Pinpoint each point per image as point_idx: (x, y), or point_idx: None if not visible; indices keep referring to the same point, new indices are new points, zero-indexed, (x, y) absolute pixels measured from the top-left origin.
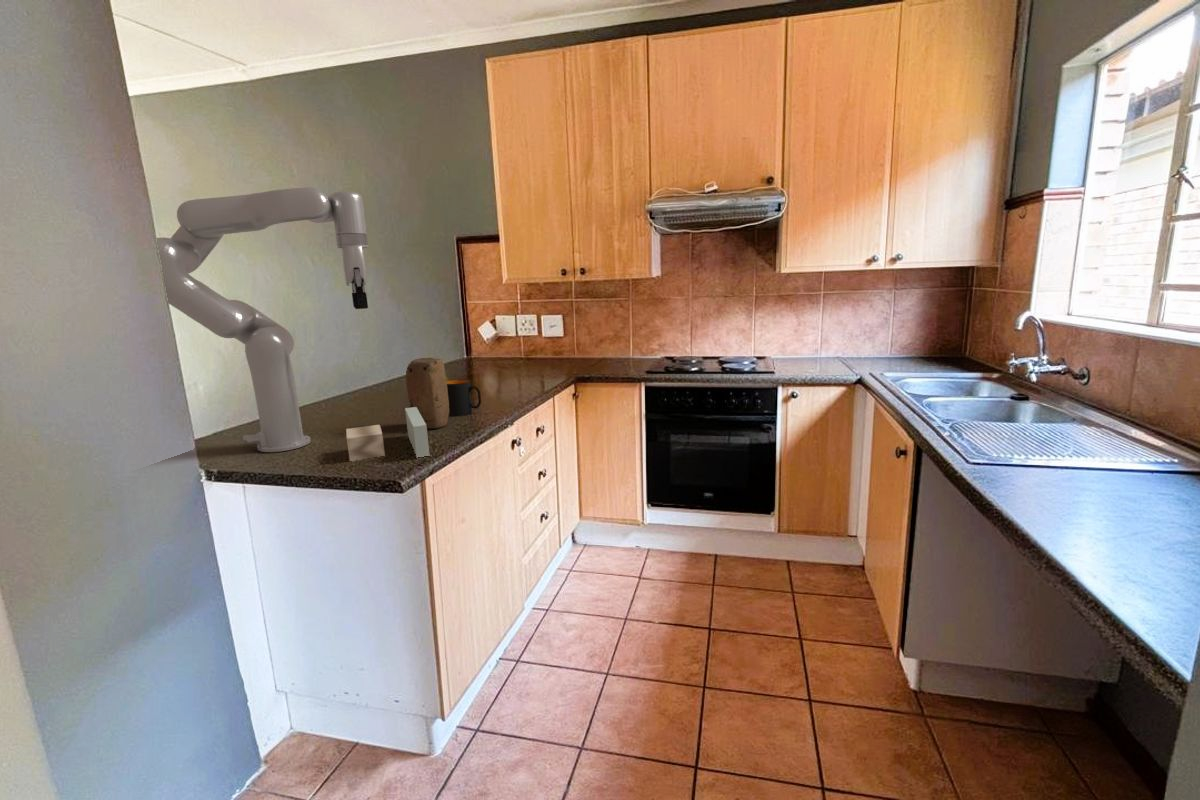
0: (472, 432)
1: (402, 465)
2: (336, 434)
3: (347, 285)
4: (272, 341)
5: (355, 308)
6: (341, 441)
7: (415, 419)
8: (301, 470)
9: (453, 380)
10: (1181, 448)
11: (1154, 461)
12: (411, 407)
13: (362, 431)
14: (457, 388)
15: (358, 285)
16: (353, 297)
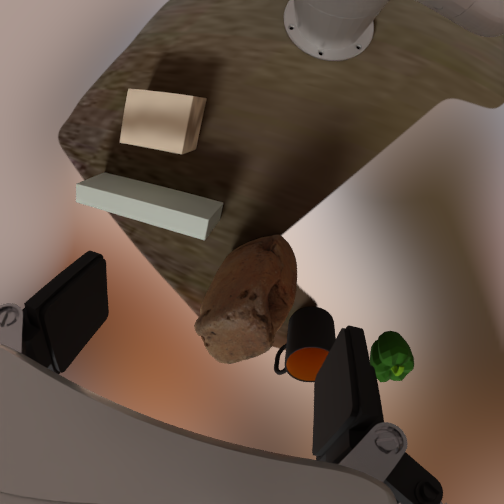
0: (177, 281)
1: (91, 149)
2: (343, 110)
3: (35, 363)
4: None
5: (91, 252)
6: (281, 101)
7: (111, 201)
8: (155, 29)
9: None
10: None
11: None
12: (272, 249)
13: (154, 117)
14: (287, 351)
15: None
16: (44, 286)
